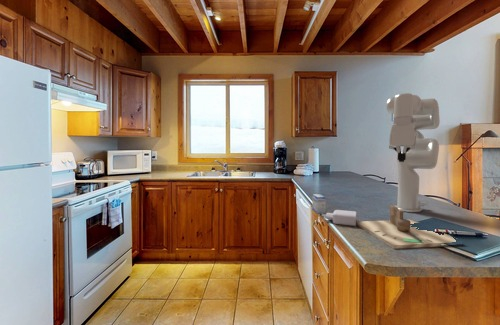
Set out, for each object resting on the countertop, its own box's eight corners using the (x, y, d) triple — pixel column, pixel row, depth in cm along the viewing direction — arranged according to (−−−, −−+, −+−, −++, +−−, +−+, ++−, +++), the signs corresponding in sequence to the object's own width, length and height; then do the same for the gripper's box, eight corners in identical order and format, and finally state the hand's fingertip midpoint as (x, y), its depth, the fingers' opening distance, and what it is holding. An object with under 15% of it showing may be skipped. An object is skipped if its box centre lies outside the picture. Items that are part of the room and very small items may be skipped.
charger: (323, 217, 125) (356, 220, 119) (320, 222, 117) (355, 226, 111) (323, 207, 125) (356, 210, 119) (320, 212, 116) (356, 216, 110)
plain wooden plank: (385, 220, 113) (386, 205, 112) (396, 220, 112) (396, 205, 112) (414, 241, 89) (415, 222, 89) (427, 242, 89) (428, 222, 88)
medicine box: (312, 209, 138) (312, 194, 137) (320, 209, 138) (320, 193, 138) (317, 214, 130) (317, 197, 130) (325, 213, 131) (325, 197, 130)
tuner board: (411, 222, 115) (411, 218, 115) (463, 245, 90) (463, 241, 89) (355, 224, 113) (355, 221, 113) (393, 248, 87) (393, 244, 87)
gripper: (423, 121, 115) (421, 161, 116) (386, 123, 124) (385, 160, 126) (421, 120, 109) (419, 162, 110) (382, 122, 118) (381, 161, 120)
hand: (401, 161), depth 118 cm, fingers closed
